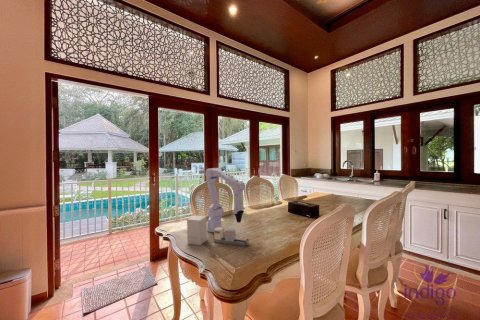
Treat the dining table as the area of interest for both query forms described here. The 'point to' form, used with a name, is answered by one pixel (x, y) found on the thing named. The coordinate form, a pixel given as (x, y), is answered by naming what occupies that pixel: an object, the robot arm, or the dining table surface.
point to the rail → (233, 242)
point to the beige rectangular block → (218, 233)
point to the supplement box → (197, 230)
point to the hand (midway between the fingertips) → (238, 222)
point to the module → (230, 235)
